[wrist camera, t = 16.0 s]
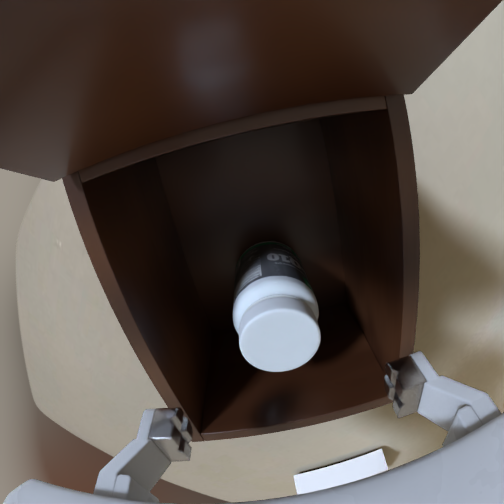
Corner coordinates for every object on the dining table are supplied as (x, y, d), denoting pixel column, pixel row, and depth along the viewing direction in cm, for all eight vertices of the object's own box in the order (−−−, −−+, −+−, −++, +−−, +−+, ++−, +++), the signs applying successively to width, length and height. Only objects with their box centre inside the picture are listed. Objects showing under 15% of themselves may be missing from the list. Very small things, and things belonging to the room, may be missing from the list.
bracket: (302, 480, 38) (310, 518, 32) (293, 475, 34) (302, 519, 28) (379, 456, 37) (391, 494, 31) (381, 448, 33) (395, 492, 27)
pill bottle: (313, 270, 22) (347, 342, 14) (265, 309, 23) (275, 390, 15) (271, 225, 21) (288, 283, 13) (221, 268, 22) (210, 343, 14)
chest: (353, 303, 24) (406, 397, 14) (207, 335, 25) (191, 442, 15) (325, 106, 18) (402, 86, 8) (144, 149, 19) (59, 170, 9)
